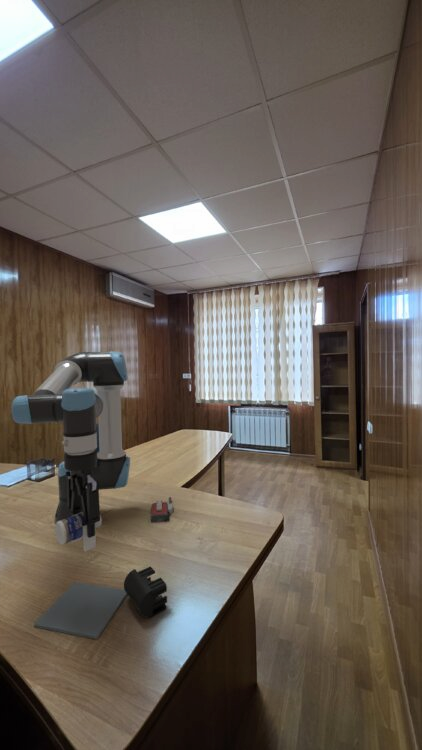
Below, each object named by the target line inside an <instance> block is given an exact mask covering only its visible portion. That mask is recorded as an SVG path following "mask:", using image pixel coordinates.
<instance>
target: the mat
mask: <svg viewBox="0 0 422 750" xmlns="http://www.w3.org/2000/svg"><path fill="white" fill-rule="evenodd" d="M127 596H128V594H127V593H126V591H125V590H124V588H116V587H110V586H103V585H98V584H96V585H95V584H90V583H84V582H83V583H82V582H77V581H74V582H73V583H72V584H71V585H70V586H69V587H68V588H67V590H65V592H64V593H62V595H61V596H60V597H59V598H57V600H56V601H55V602H54V603H53V604H52V605H51V606H50V607H49V608H48V609H47V610H46V611H45V613H43V614H42V615H41V616H40V617H39V619H38V620H37V621H36V622H35V623H34V624H33V625H34V626H33V627H34V628H39V629H44V630H48V631H54V632H58V633H64V634H69V635H74V636H79V637H84V638H89V639H93V638H94V639H93V640H98V639H99V638H100V636H101V635H102V633H103V631H104V630H105V629H106V628H107V626H108V624H109V623H110V621H112V618H113V616H115V614H116V612H117V611H118V610H119V608H120V607H121V605H122V603H123V602H124V601H125V599H126V598H127Z"/></svg>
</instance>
